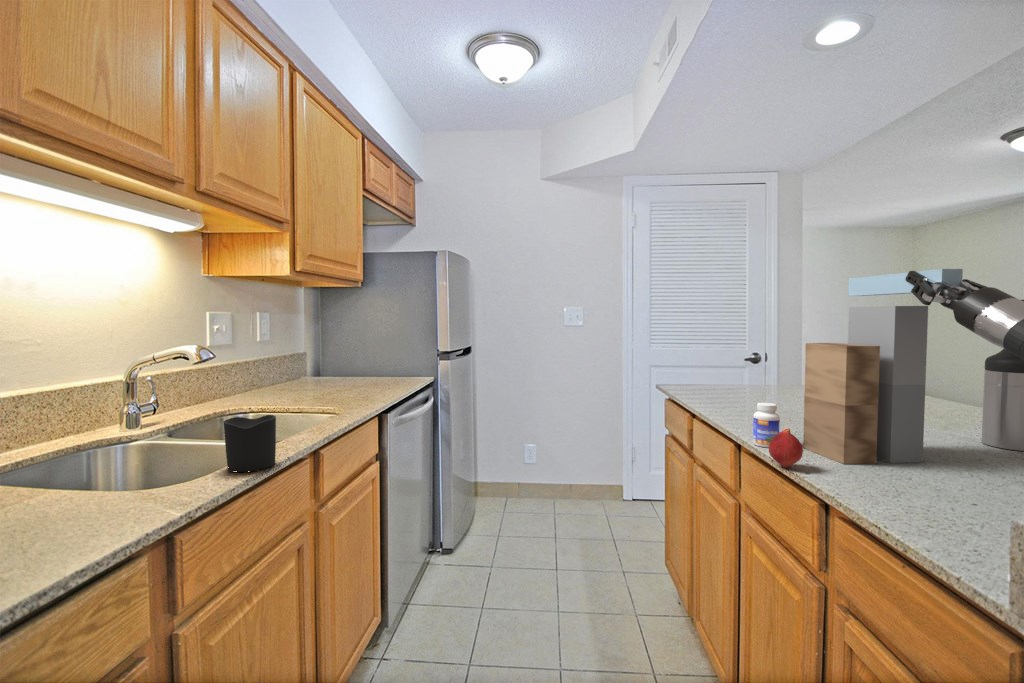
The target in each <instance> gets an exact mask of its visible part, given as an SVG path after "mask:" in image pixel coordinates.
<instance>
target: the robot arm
mask: <svg viewBox="0 0 1024 683" xmlns="http://www.w3.org/2000/svg"><path fill="white" fill-rule="evenodd" d="M908 272H909V273H908ZM908 272H907V273H908V275H907V277H906V279H905V280H906V281H907V282H909V283H910V284H912V285H914V287H913V289H912V290H911V292H912V293H911V294H912V295H914V297H916V299H917V300H919V302H920V303H921V304H922V305H923V306H931V304H932V303H938V304H940V306H943V307H944V308H946V309H948V310H952V313H953V316H954V320H955V322H957V324H958V325H961V326H963V327H964V328H966V329H968V330H969V331H970V332H971V333H974V334H976V335H977V336H979V337H981V338H982V339H984V340H985V341H987V342H988V343H990V344H992V345H994V346H997V347H999V348H1001V350H1000V351H999V352H997V353H995V354H993V355H990V356H988V357H986V359H985V361H984V372H983V373H984V377H983V379H984V380H983V382H984V383H983V399H982V400H983V401H982V419H981V420H982V421H981V422H982V425H981V443H983V444H984V445H987V446H991V447H994V448H1000V449H1007V450H1011V451H1021V452H1024V299H1020V298H1017V297H1015V296H1013V295H1011V294H1009V293H1007V292H1005V291H1003V290H1000V289H999V288H997V287H990V286H986V285H983V284H980V283H977V282H976V281H973V280H969V279H967V278H964V279H963V278H962V282H960V284H959V286H957V287H956V286H953V285H951V284H948V283H946V282H935V281H933V280H931V279H929V278H927V277H925V276H923V275H921V274H919V273H918V271H916V270H909V271H908ZM929 284H930V285H932V286H933V288H931V287H930V286H929ZM941 286H942V287H944V288H943V289H942V290H941V292H940V291H939V289H940V287H941ZM961 286H962V287H961Z"/></svg>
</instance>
